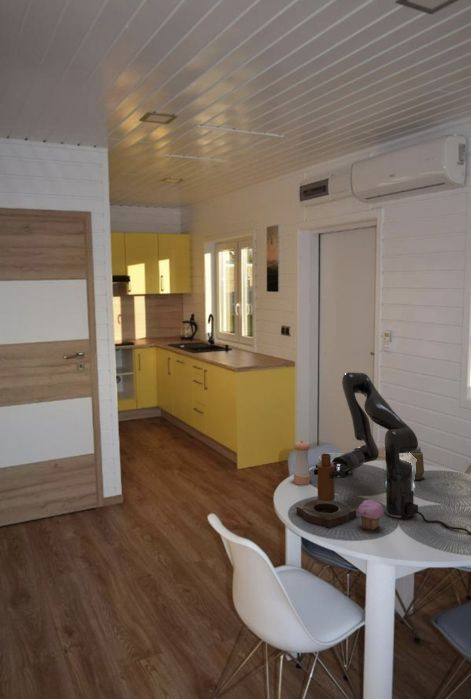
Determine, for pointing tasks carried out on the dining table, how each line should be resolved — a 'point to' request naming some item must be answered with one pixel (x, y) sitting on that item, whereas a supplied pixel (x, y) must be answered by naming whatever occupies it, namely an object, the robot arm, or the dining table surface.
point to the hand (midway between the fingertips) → (322, 474)
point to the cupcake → (370, 514)
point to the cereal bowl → (331, 456)
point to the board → (327, 519)
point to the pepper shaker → (301, 463)
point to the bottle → (325, 479)
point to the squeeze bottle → (418, 463)
